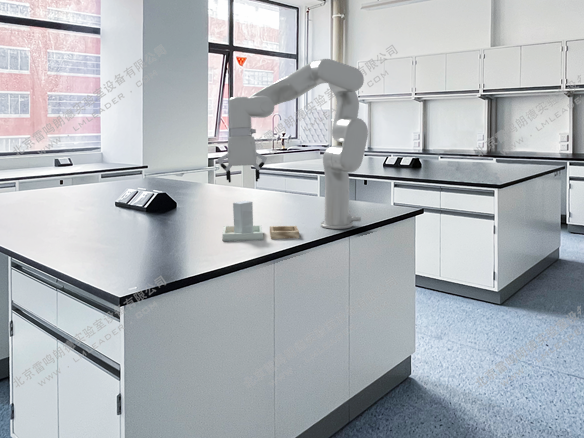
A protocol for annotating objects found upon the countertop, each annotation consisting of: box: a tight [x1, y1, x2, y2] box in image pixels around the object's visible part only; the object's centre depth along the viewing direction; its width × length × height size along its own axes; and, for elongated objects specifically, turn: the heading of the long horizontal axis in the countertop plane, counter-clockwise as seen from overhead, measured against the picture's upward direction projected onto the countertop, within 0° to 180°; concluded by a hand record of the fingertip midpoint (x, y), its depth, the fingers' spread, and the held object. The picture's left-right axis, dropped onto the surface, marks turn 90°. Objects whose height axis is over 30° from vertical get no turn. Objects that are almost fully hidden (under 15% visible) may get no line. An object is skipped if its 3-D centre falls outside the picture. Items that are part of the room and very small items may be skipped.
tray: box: [222, 225, 264, 242], centre depth 192 cm, size 14×14×2 cm
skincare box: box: [232, 200, 254, 233], centre depth 191 cm, size 6×4×12 cm
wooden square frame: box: [269, 225, 300, 240], centre depth 193 cm, size 10×10×2 cm
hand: (243, 181), depth 189 cm, fingers open, 9 cm apart
